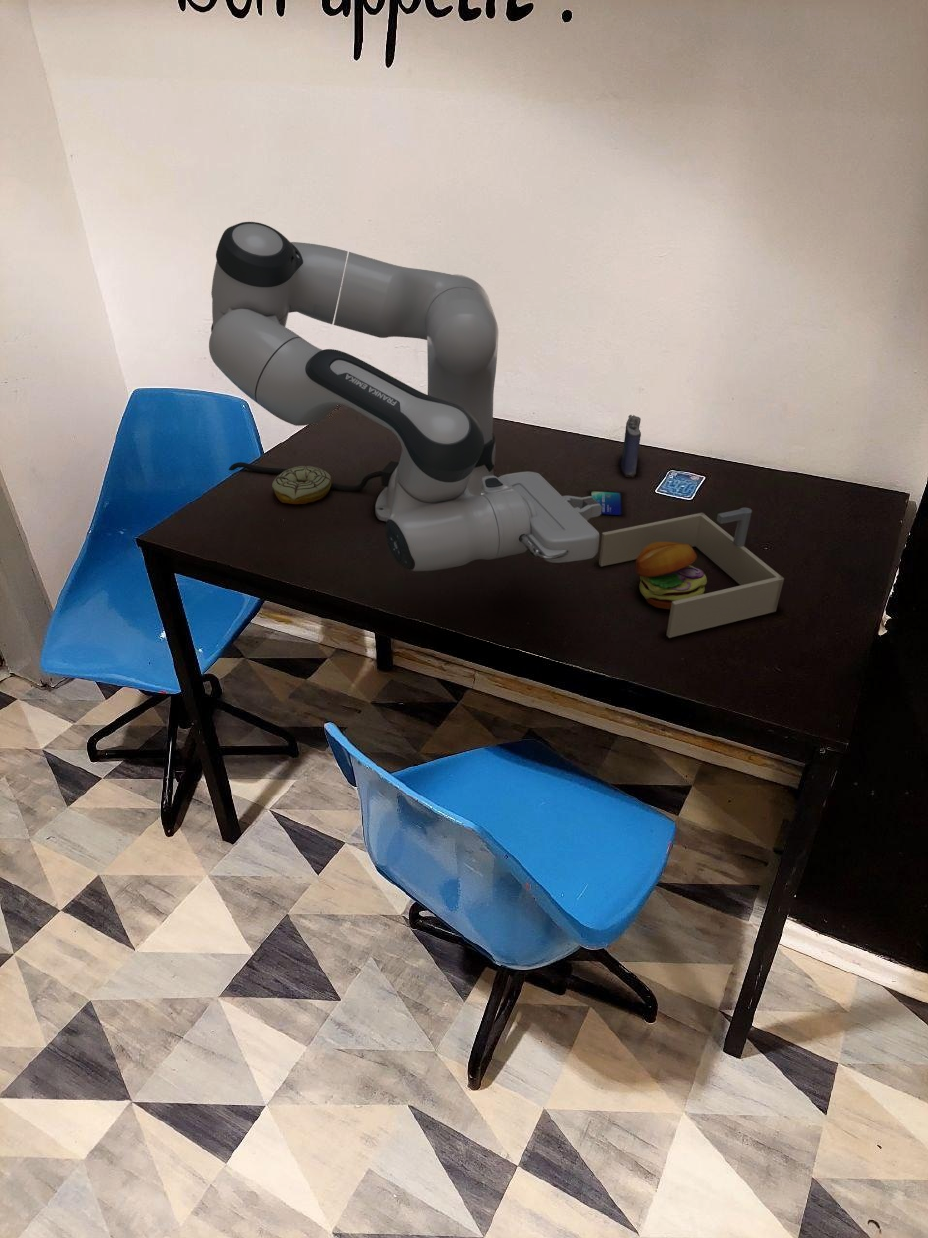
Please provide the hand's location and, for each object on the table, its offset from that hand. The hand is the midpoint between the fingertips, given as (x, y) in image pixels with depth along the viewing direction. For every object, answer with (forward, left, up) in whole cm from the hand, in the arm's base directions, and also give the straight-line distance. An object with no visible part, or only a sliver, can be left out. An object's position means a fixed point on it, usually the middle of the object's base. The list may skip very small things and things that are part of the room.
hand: (596, 505), depth 124 cm
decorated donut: (-54, +29, -18) cm, 64 cm away
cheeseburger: (+12, +6, -18) cm, 23 cm away
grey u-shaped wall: (+15, +8, -18) cm, 25 cm away
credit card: (+2, +34, -18) cm, 39 cm away
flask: (+6, +50, -18) cm, 54 cm away
